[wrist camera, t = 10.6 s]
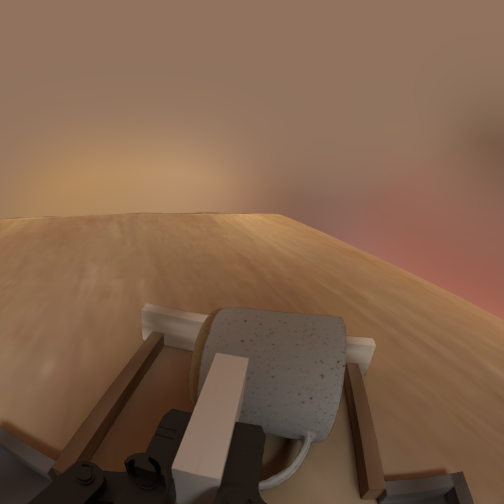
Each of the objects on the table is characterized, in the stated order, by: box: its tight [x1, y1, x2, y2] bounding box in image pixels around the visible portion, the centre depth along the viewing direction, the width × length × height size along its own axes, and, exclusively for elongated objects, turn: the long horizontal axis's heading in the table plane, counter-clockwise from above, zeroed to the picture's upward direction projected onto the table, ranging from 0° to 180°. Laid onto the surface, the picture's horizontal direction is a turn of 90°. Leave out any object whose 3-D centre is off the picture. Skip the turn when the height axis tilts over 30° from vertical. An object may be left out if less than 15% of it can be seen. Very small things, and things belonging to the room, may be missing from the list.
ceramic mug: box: [189, 308, 347, 490], centre depth 16 cm, size 11×8×8 cm
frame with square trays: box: [0, 303, 474, 504], centre depth 14 cm, size 28×23×3 cm
